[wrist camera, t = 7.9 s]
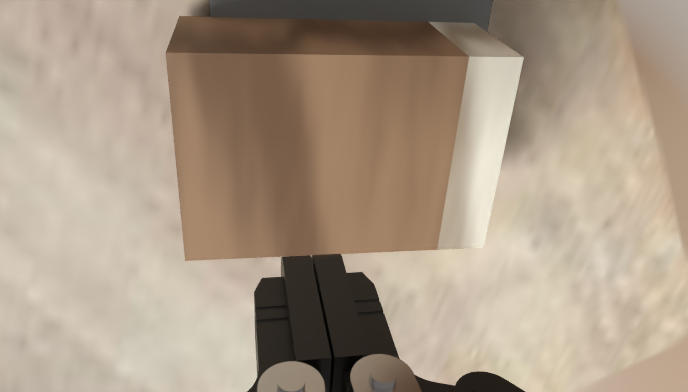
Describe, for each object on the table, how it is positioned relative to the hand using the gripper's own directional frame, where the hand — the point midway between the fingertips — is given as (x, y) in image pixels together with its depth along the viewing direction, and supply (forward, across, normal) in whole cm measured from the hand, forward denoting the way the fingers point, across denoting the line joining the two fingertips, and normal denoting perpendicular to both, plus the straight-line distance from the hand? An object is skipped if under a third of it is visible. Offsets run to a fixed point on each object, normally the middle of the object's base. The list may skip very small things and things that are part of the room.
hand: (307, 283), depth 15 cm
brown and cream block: (+10, +4, 0) cm, 10 cm away
